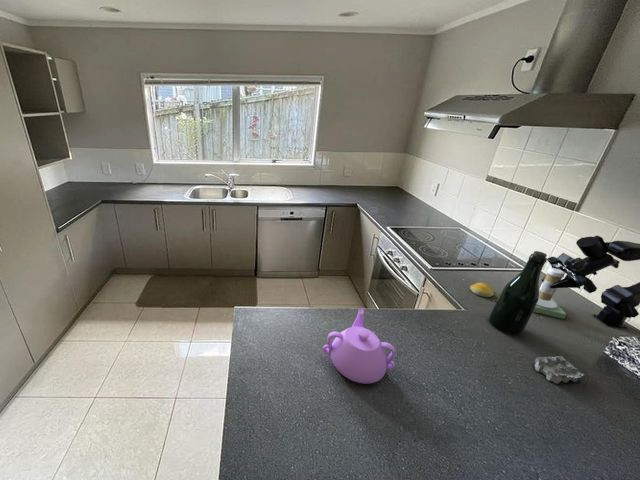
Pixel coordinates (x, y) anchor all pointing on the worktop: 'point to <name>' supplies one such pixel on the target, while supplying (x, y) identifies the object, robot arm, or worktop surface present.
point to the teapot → (359, 353)
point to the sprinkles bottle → (550, 283)
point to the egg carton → (557, 369)
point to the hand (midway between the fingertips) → (546, 284)
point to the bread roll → (482, 289)
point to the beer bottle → (519, 297)
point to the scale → (549, 308)
